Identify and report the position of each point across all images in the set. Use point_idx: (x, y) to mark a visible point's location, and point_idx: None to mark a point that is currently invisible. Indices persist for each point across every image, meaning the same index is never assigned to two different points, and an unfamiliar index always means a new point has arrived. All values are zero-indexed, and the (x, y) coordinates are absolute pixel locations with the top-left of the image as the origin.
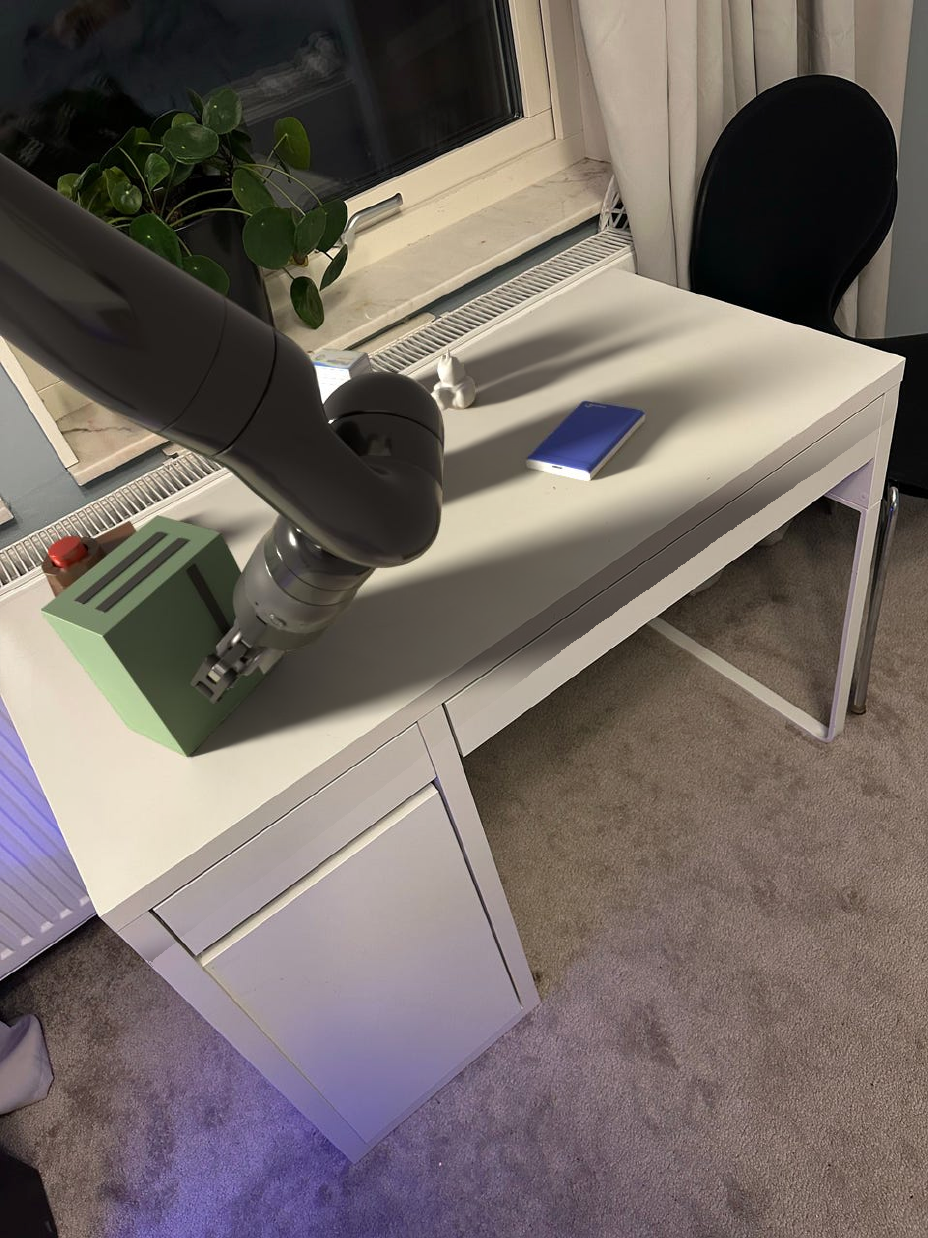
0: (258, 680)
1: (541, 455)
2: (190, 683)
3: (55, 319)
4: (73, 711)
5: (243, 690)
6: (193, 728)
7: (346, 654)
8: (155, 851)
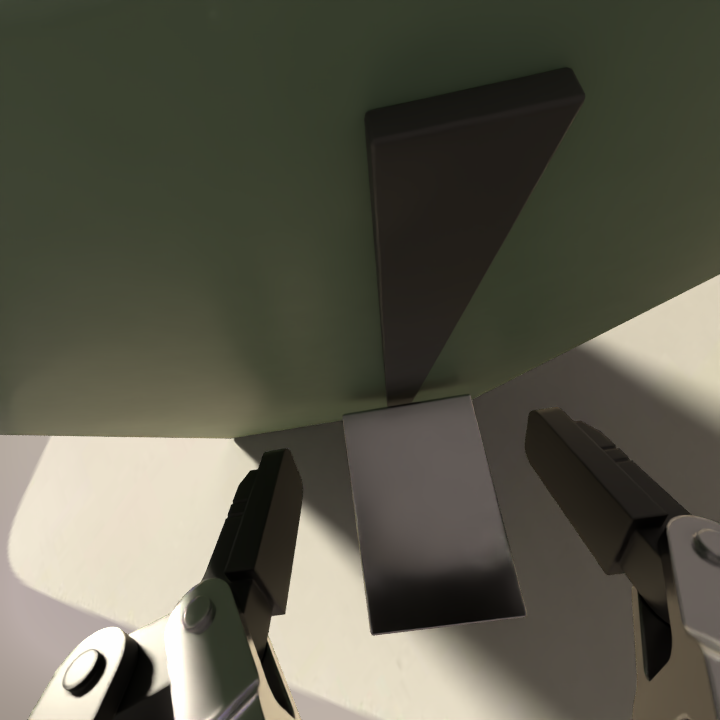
0: None
1: None
2: (55, 675)
3: None
4: None
5: None
6: (245, 432)
7: (561, 516)
8: (83, 553)
